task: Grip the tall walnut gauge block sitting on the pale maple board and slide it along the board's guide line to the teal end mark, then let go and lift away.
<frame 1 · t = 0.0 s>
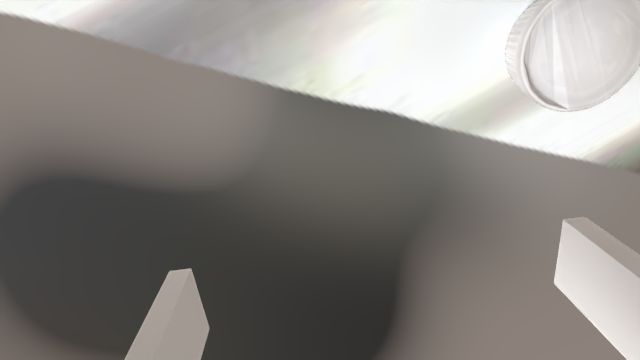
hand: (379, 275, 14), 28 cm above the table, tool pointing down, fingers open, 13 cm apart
ramekin: (548, 45, 39), on the table
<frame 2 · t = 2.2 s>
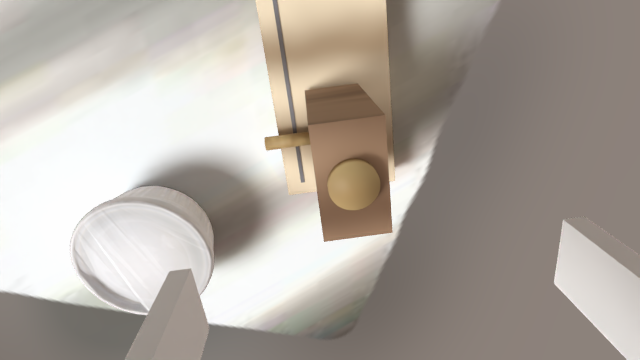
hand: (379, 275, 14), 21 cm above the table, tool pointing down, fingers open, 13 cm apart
ramekin: (162, 228, 36), on the table
gauge: (317, 157, 25), point 8 cm above the table, slide at 0.0 cm
board: (323, 35, 30), on the table
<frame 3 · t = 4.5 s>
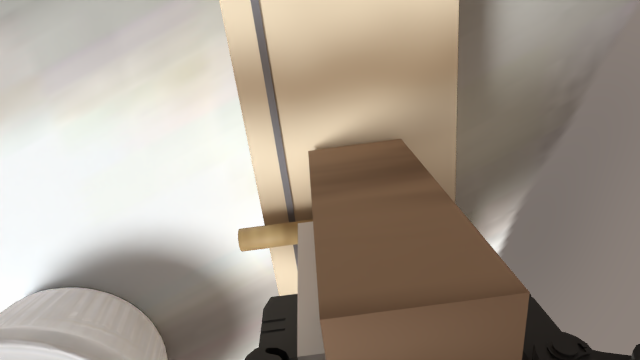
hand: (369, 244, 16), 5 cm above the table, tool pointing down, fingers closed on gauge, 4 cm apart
ramekin: (91, 341, 24), on the table
gauge: (332, 298, 13), point 8 cm above the table, slide at 0.0 cm, touching gripper
board: (339, 53, 18), on the table
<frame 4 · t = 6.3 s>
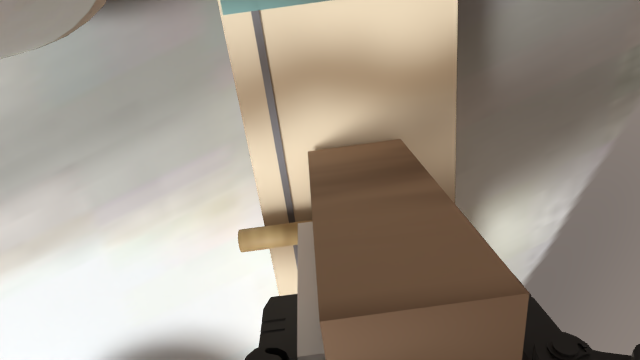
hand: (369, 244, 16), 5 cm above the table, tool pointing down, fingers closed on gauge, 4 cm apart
gauge: (332, 299, 13), point 8 cm above the table, slide at 6.9 cm, touching gripper
board: (352, 189, 20), on the table
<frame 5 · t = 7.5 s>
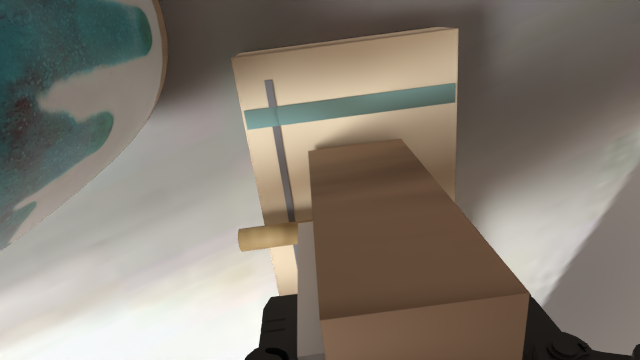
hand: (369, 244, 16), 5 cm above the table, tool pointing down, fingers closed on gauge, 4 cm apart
vase: (75, 29, 17), on the table
gauge: (332, 298, 13), point 8 cm above the table, slide at 11.4 cm, touching gripper
board: (359, 260, 22), on the table
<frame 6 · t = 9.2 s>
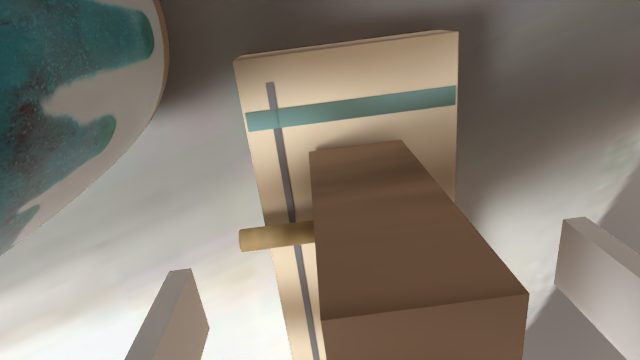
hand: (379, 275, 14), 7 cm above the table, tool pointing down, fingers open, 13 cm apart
vase: (77, 32, 17), on the table
gauge: (333, 299, 13), point 8 cm above the table, slide at 11.5 cm
board: (360, 262, 22), on the table
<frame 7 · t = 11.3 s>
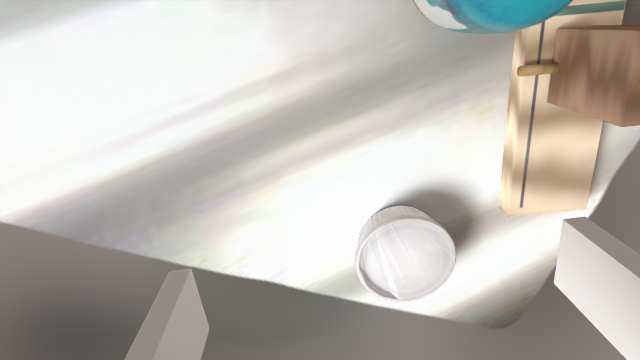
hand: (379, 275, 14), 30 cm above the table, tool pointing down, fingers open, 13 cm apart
ramekin: (395, 237, 48), on the table
gauge: (591, 73, 33), point 8 cm above the table, slide at 11.5 cm
board: (548, 104, 42), on the table
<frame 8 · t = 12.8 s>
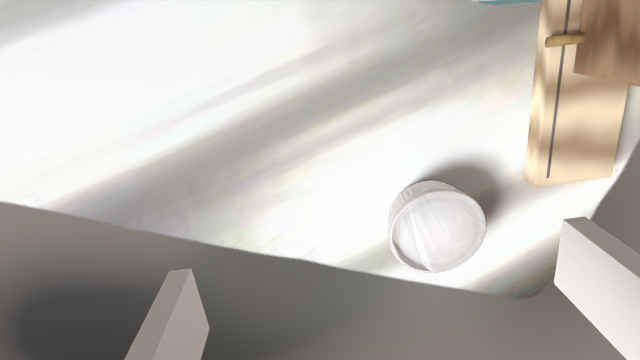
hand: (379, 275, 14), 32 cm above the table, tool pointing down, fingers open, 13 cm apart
ramekin: (424, 212, 50), on the table
gauge: (620, 40, 34), point 8 cm above the table, slide at 11.5 cm
board: (573, 75, 43), on the table
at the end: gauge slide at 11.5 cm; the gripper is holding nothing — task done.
